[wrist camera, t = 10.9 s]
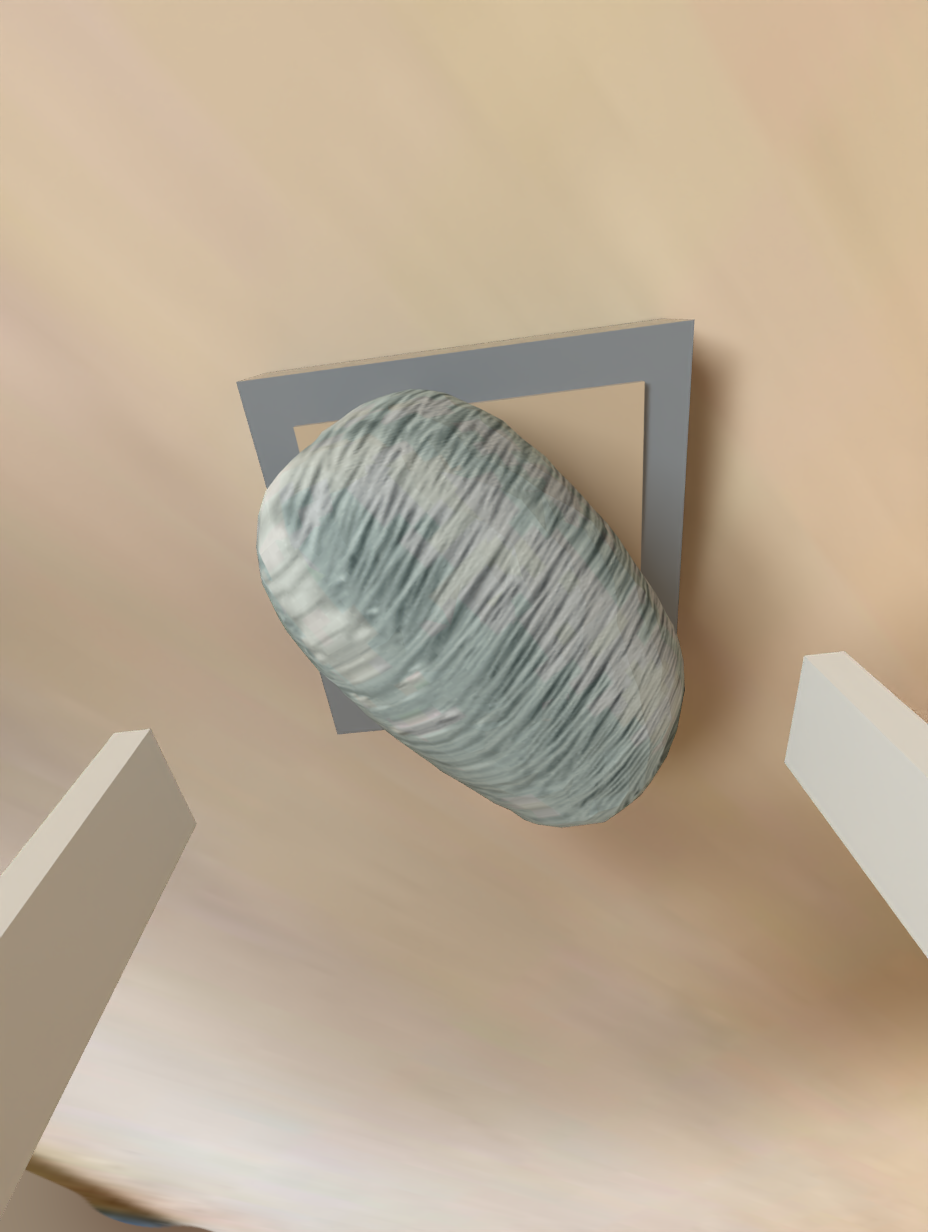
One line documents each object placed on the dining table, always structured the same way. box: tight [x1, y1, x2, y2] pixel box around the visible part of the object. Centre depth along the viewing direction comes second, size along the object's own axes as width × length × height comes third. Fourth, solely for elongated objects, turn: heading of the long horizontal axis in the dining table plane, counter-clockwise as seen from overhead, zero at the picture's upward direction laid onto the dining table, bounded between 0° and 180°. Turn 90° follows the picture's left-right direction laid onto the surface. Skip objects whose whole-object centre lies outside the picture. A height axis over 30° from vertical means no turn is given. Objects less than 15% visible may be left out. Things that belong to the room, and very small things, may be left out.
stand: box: [236, 319, 694, 734], centre depth 22 cm, size 14×14×3 cm
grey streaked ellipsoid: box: [256, 389, 685, 827], centre depth 17 cm, size 14×10×10 cm
